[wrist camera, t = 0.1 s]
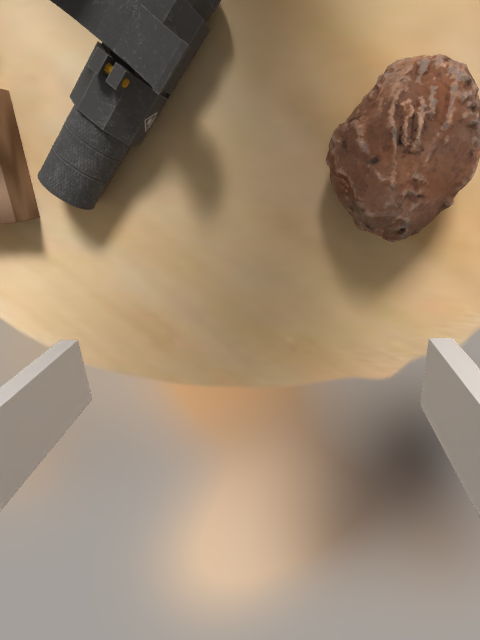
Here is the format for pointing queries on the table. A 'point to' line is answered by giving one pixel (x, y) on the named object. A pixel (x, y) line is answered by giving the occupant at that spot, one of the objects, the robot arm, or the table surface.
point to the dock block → (13, 169)
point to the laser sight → (120, 87)
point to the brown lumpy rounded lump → (407, 146)
